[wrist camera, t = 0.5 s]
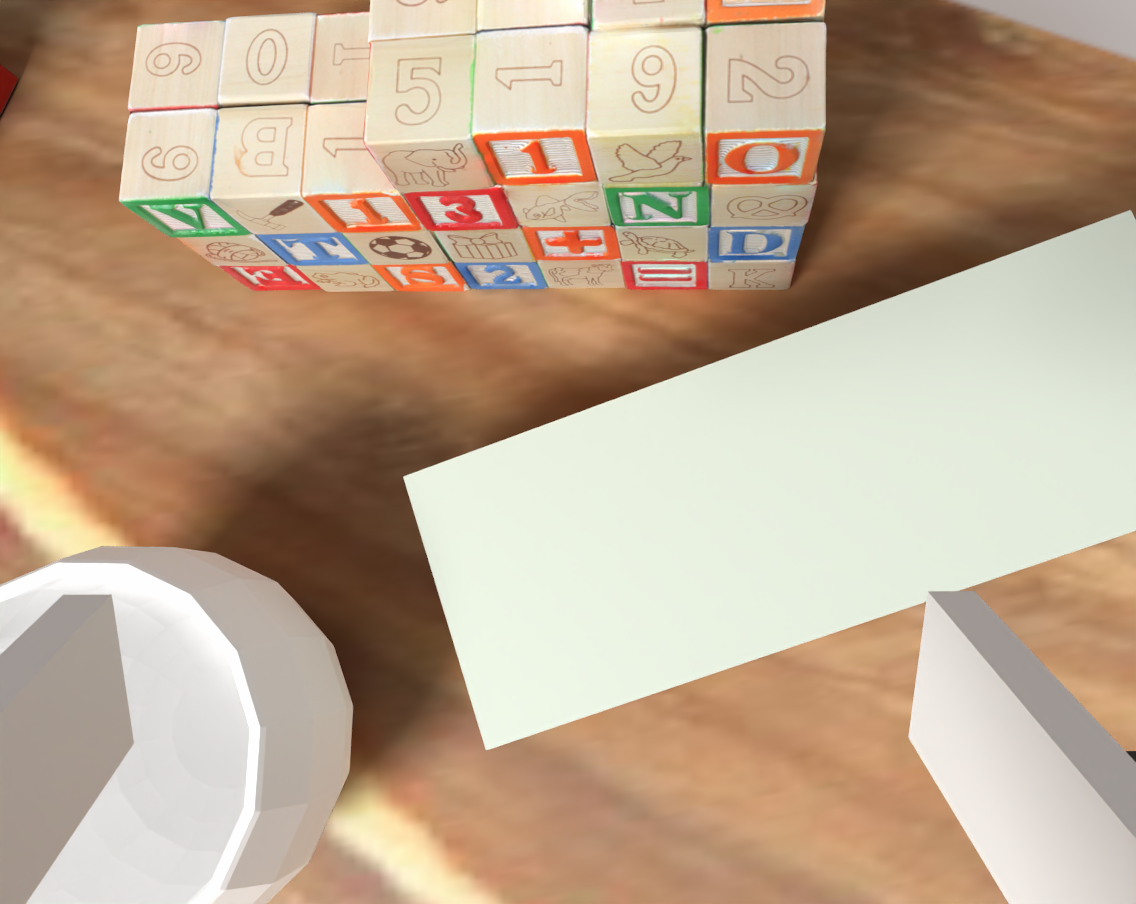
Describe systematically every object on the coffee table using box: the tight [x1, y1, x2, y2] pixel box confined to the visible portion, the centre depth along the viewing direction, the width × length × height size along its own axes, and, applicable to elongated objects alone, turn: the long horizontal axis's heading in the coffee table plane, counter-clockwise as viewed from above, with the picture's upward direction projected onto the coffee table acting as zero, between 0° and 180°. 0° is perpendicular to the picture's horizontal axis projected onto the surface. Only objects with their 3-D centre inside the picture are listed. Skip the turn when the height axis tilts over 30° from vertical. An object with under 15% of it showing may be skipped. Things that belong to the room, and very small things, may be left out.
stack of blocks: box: [119, 0, 826, 292], centre depth 32 cm, size 21×6×12 cm, turn 88°
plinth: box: [403, 210, 1136, 750], centre depth 32 cm, size 9×24×5 cm, turn 109°
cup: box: [0, 546, 353, 904], centre depth 32 cm, size 12×12×10 cm
